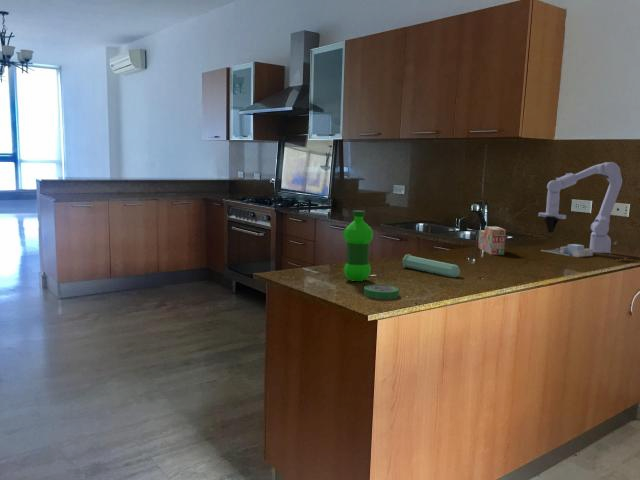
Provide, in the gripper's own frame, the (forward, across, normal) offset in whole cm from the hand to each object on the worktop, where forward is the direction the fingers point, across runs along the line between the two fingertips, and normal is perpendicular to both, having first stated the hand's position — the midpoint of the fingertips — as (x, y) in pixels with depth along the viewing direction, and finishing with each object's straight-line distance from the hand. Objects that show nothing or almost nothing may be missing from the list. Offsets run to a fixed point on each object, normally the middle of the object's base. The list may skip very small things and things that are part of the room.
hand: (550, 232), depth 272 cm
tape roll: (+10, +40, -130) cm, 136 cm away
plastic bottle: (+10, +18, -125) cm, 127 cm away
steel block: (+8, +16, -3) cm, 19 cm away
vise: (+9, +12, -3) cm, 16 cm away
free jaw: (+8, +12, -3) cm, 15 cm away
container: (+10, +17, -90) cm, 92 cm away
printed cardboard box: (+10, -12, -28) cm, 32 cm away
